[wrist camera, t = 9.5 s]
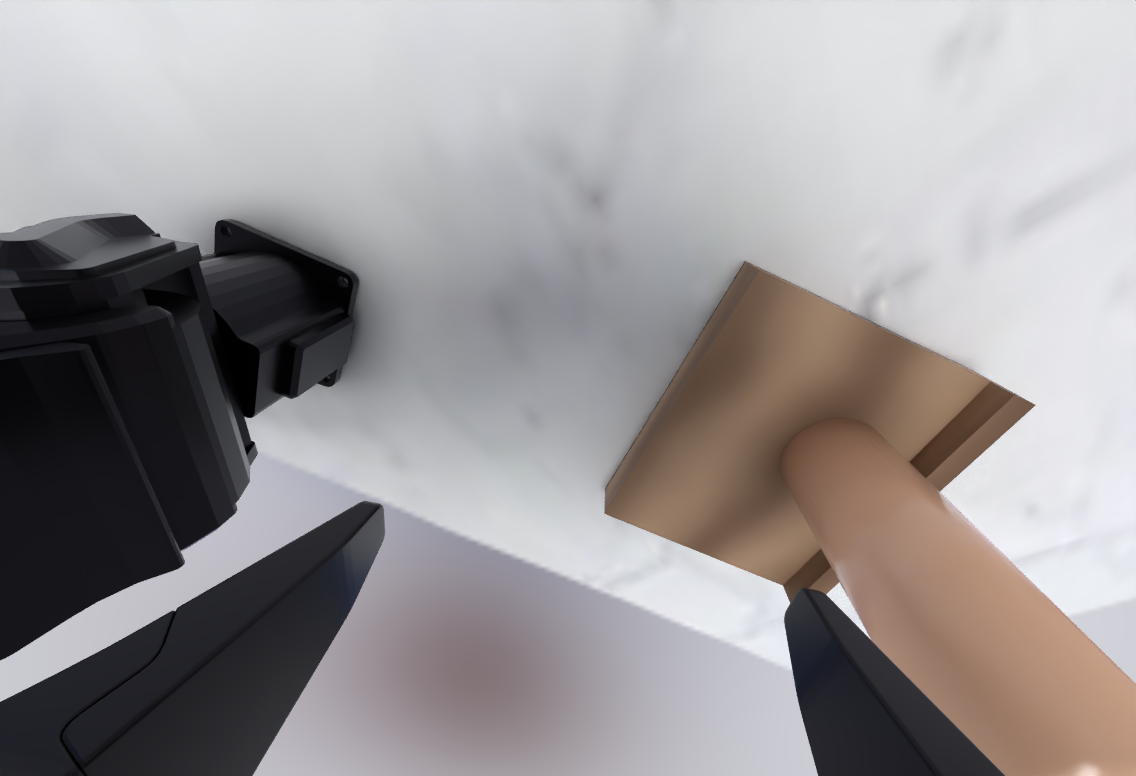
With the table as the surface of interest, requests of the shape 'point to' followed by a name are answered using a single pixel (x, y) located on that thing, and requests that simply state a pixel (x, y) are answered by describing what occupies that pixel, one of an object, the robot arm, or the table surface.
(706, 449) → the shelf board
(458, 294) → the table surface
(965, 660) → the tan round cylinder
